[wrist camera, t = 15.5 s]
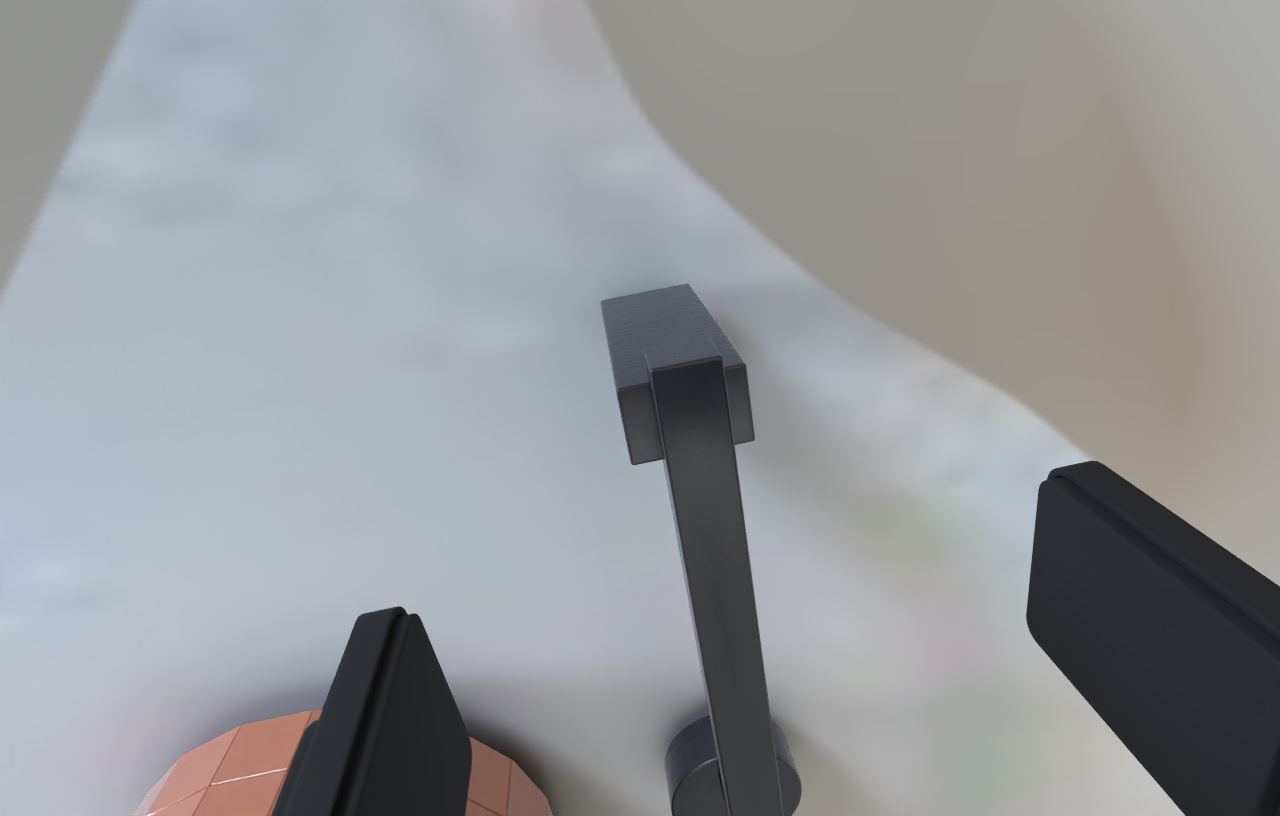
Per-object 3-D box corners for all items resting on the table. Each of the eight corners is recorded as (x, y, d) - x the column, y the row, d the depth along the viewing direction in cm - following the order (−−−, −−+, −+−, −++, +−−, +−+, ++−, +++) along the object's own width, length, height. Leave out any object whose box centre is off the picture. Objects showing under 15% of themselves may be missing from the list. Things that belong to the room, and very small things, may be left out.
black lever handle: (553, 282, 18) (544, 391, 11) (725, 249, 18) (826, 334, 11) (674, 810, 26) (713, 1061, 19) (791, 785, 26) (872, 1026, 19)
